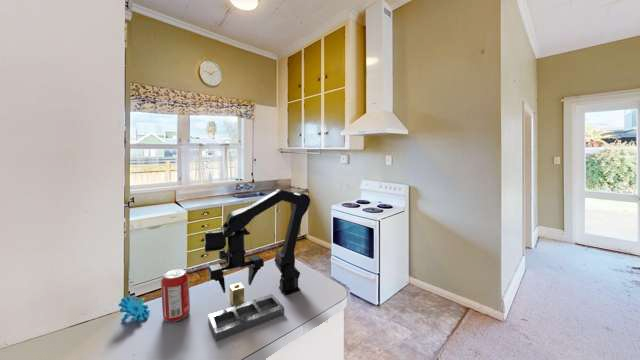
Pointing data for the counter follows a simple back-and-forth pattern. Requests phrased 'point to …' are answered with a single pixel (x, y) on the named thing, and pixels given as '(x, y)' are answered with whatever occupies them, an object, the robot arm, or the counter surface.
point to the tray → (248, 321)
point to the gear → (134, 308)
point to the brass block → (236, 294)
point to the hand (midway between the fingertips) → (237, 288)
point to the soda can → (175, 295)
